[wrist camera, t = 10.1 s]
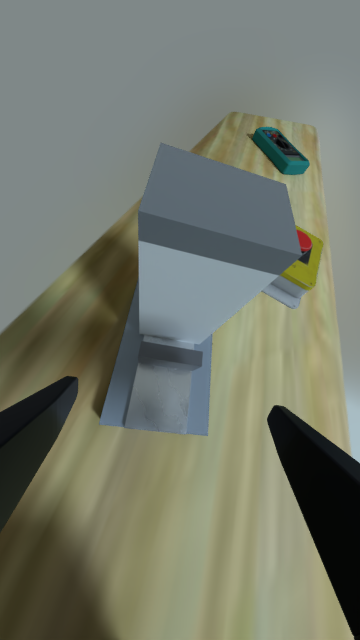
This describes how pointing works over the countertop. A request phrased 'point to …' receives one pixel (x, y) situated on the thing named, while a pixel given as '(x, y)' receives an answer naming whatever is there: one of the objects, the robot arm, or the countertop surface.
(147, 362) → the end clamps
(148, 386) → the steel rail
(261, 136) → the digital multimeter
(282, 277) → the emergency button
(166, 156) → the block
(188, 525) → the countertop surface
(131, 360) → the rail board
